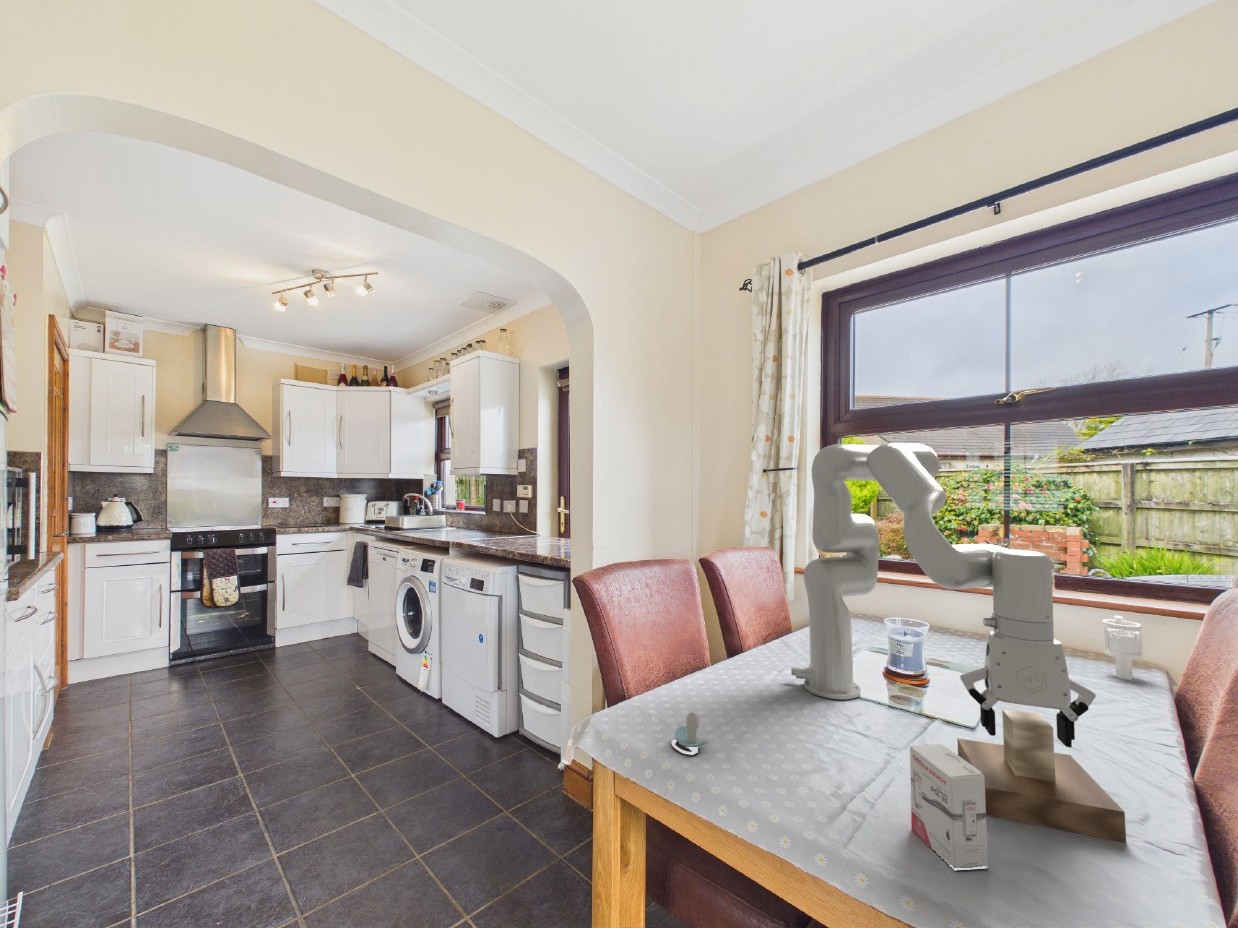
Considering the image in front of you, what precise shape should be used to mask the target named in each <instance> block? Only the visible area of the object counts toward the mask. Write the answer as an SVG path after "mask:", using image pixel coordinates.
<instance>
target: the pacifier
mask: <svg viewBox="0 0 1238 928" xmlns="http://www.w3.org/2000/svg"><path fill="white" fill-rule="evenodd" d="M685 724H686V726H684V725H683V726H682V725H681V726H678V727H677V728H676V730H675V732H674V736H675V738H674V739H676V740H677V742H678V743H677V744H679V745H681V746H683V747H684V746H685V747H699V748H700V747H702V746H705V745H707V744H709V742H710V740H708V739H698V735H697V730H698V729H699V726H700V719H699V716H698V714H697V713H695V712H693V711H690V712H689V713H688V714H687V717H686V720H685ZM685 747H684V748H685Z"/></svg>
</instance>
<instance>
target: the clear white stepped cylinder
mask: <svg viewBox="0 0 1238 928" xmlns="http://www.w3.org/2000/svg"><path fill="white" fill-rule="evenodd" d="M1131 632H1133V633H1132V634H1131ZM1102 634H1103V638H1102V639H1103V652H1104V654H1105V655H1106V656H1108V657H1109V656H1110V657H1113V658H1114V659H1115V660H1114V661H1115V676H1117V677H1116V678H1118V679H1121V680H1126V681H1127V680H1129V681H1133V680H1134V676H1133V675H1134V674H1133V671H1134V670H1133V661H1143V660H1144V654H1143V653H1144V652H1143V651H1144V650H1143V636H1142V635H1143V634H1142V624H1140V623H1137V622H1133V621H1129V620H1124V617H1123V616H1120V615H1114V619H1110V618H1109V619H1107V618H1105V619H1102Z"/></svg>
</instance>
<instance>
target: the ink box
mask: <svg viewBox="0 0 1238 928" xmlns="http://www.w3.org/2000/svg"><path fill="white" fill-rule="evenodd" d="M909 753H910V754H909V758H910V759H909V762H910V769H909V770H910V814H911V815H910V817H911V818H910V820H911V823H910V824H911V825H910V826H911V827H910V828H911V830H912V831H913V832H914V833H915V834H918V835H917V836H918V837H919V836H920V837H921V838H922V839H923V840H924V841H925V842H926V843H927V844H928V845H929V846H930V847H929V846H928V845H927V844H926V843H925V842H924V841H923V840H922V839H921V838H920V837H919V838H920V839H921V840H922V841H923V842H924V843H925V844H926V845H927V846H928V847H929V848H930V849H931V850H932V851H933V850H935V851H936V852H937V853H938V854H939V855H940V856H941V857H942V858H943V859H944V860H946V861H947V862H948V863H949V864H950V865H952V866H953V868H973V867H979V866H980V867H982V866H985V867H986V866H988V867H989V862H988V859H989V858H988V835H987V815H986V804H985V780H984V775H983V774H982V772H981V771H980V770H978V769H977V768H975V767H974V766H972V765H971V764H970V763H968V762H967V761H965V760H964V759H962V758H961V757H960V756H958V753H955V752H953V750H951V749H950V748H948V747H947V746H945V745H943V744H942V743H930V744H921V745H918V744H917V745H910V746H909Z"/></svg>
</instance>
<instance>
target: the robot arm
mask: <svg viewBox="0 0 1238 928" xmlns="http://www.w3.org/2000/svg"><path fill="white" fill-rule="evenodd" d="M940 467H941V463H940V459H939V457H938V455H937V453H936V452H935V451H934V450H933V449H932V448H931V447H929V446H927V445H925V444H921V443H906V442H905V443H904V442H903V443H902V442H888V443H884V444H866V443H865V444H860V443H859V444H858V443H834V444H831V445H827V446H825V447H823V448H821V449H820V450H819V451H818V452H817V454H815V456H814V458H813V461H812V465H811V480H812V487H813V508H812V509H813V511H812V512H813V513H812V515H813V516H812V535H811V536H812V541H813V546H814V547H815V548H816V549H817V550H819V551H820V552H822V553H830V554H838V553H839V554H840V553H845V555H846V556H834V557H833V556H831V557H820V558H816V559H813V560H811V561H810V562H808V563H807V564H806V566H805V567H804V571H803V582H804V586H805V587H804V588H805V590H806V591H805V592H806V596H807V602H808V620H809V621H808V622H809V625H808V627H809V628H808V629H809V657H810V658H809V662H810V664H808V667H806V666H805V667H804V668H800V667H796V666H794V667H793V666H791V668H790V669H791V676H795V678H796V679H800V680H802V679H803V685H804V689H805V690H806V691H807V692H809V693H811V694H813V695H816V696H819V697H821V698H825V699H832V700H845V701H846V700H853V699H856V698H858V697H860V696H861V694H860V693H862V691H861V690H862V689H861V687H860V685H858V684H857V683H856V682H854V665H853V664H854V663H853V662H854V661H853V658H854V657H853V626H852V616H851V612H850V610H849V608H848V607H847V605H846V603H845V601H844V599H843V598H846V597H852V596H853V597H856V596H857V597H858V596H864V595H867V594H870V593H871V592H872V591H873V590H874V589H875V587H876V585H877V582H878V576H879V575H878V573H879V559H880V558H879V556H880V533H879V529H878V526H877V524H876V522H875V521H874V520H873V518H871V517H870V516H869V515H867V514H865V513H861V512H860V513H859V512H852V504H853V503H852V502H853V499H852V493H851V492H850V491H851V490H850V489H849V486H848V485H847V484H846V482H845V481H870V482H871V481H873V482H874V481H876V482H877V483H878V485H879V486H880V487H881V488H882V490H883V491H884V492H885V493H886V494H887V496H888V497H889V498H890V499H891V501H892V502H893V503H894V504H895V506H896V507H897V509H898V510H899V511H900V512H901V514H902V515H903V521H902V534H903V538H904V539H903V540H904V543H905V546H906V548H907V550H908V552H909V553H910V556H911V557H912V558H913V559H914V560H915V562H916V564H917V565H918V566H919V567H920V568H921V570H922V572H923V573H924V574H925V575H926V576H927V577H928V578H929V579H930V580H931V581H932V582H933V583H935V584H936V585H938V586H939V587H942V588H944V589H948V590H964V589H967V590H968V589H978V588H980V589H982V588H992V607H993V613H991V617H983V619H982V623H983V627H989V628H990V629H991V628H992V630H993V631H992V630H991V631H990V632H989V633H988V638H987V643H986V648H985V654H984V655H985V656H984V667H981V668H978V669H975V670H971V671H970V672H966V673H963V674H961V675H960V676H959V679H960V681H961V682H962V684H963V686H964V687H965V689H966V691H967V692H968V694H969V695H970V696H971V697H972V699H974V700H975V701H976V703H978V704H979V705H980V707H979V708H980V709H979V710H980V724H981V726H982V728H983V727H984V729H985V730H986V731H987V734H989V736H991V737H992V736H993V737H995V736H996V734H997V732H996V731H997V730H996V712H995V710H994V708H993V706H995V705H996V704H997V703H998V702H1003V703H1008V704H1014V705H1020V706H1021V705H1022V706H1029V707H1036V708H1037V707H1038V708H1045V709H1055V710H1059V712H1056V715H1055V716H1056V719H1055V720H1056V736H1057V739H1058V740H1059V741H1060V742H1061V743H1062V744H1063V745H1064V746H1065V747H1066V748H1072V747H1073V744H1072V741H1074V740H1076V736H1075V732H1076V731H1075V722H1077V721H1078V720H1079V717H1081V716H1082V715H1083V714H1084V713H1086V712H1088V711H1089V707H1090V706H1091V705H1092V703H1093V702H1094V700H1095V698H1096V697H1097V695H1096V694H1095V692H1093V691H1092V690H1091V689H1089V688H1087V687H1085V686H1083V685H1081V684H1080V683H1077V682H1075V681H1074V680H1072V679H1070V677H1069V671H1068V667H1067V666H1068V665H1067V659H1066V655H1065V651H1064V647H1063V645H1062V642H1061V641H1059V640H1057V639H1056V638H1055V632H1054V603H1053V602H1054V599H1053V598H1054V596H1053V574H1052V573H1053V569H1052V560H1051V559H1050V557H1049V555H1047V554H1045V553H1043V552H1040V551H1034V550H1028V549H1027V550H1026V549H1025V550H1024V549H1010V548H1006V547H1003V546H999V545H995V544H990V543H962V544H958V543H957V544H951V543H950V542H949V540H947V538H946V537H945V535H943V533H942V532H941V531H940V530H939V528H938V527H937V525H936V524H935V522H934V519H933V516H934V515H936V513H938V512H939V511H940V510H941V509H942V508H943V506H944V505H945V503H946V502H947V499H948V497H947V492H946V491H945V489H943V487H942V486H941V485H940V484H939V483H938V482H937V481H936V480H935V477H937V475H938V474H939V471H940ZM982 680H983V681H984V686H985V690H984V691H982V692H979V691H978V690H977V688H976V687H975V683H976V682H979V681H982ZM1071 691H1073V692H1075V693H1077V694H1078V696H1077V698H1076V699H1074V700H1073V701H1072V696H1071ZM859 695H860V696H859Z"/></svg>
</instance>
